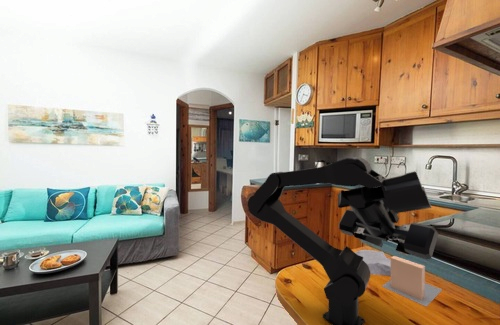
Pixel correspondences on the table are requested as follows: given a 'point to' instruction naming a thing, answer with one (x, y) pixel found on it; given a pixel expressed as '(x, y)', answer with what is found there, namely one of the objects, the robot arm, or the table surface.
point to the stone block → (376, 262)
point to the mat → (429, 296)
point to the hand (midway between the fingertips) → (393, 249)
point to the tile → (408, 277)
